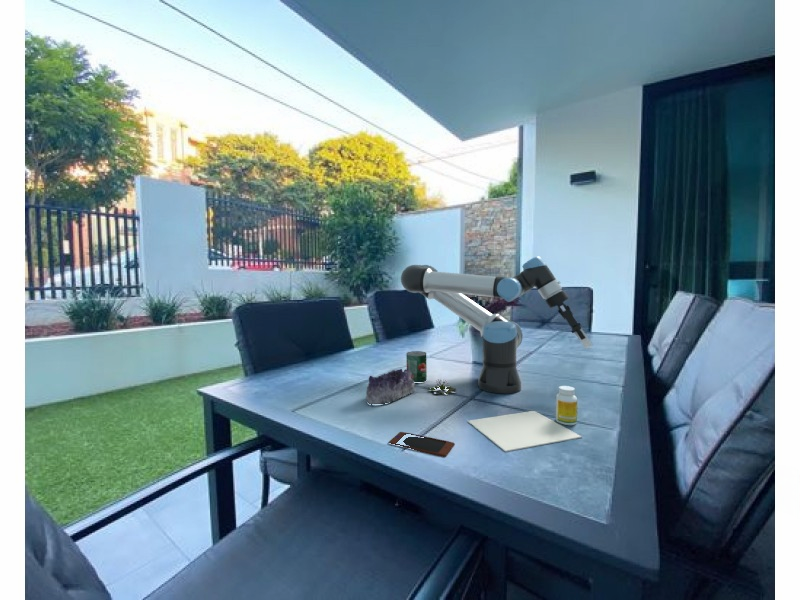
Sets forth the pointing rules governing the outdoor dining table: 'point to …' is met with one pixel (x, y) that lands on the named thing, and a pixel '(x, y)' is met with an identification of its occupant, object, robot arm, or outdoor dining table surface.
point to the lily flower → (443, 387)
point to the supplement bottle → (566, 406)
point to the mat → (522, 430)
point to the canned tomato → (417, 365)
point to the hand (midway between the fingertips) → (587, 345)
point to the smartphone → (425, 444)
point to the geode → (389, 387)
